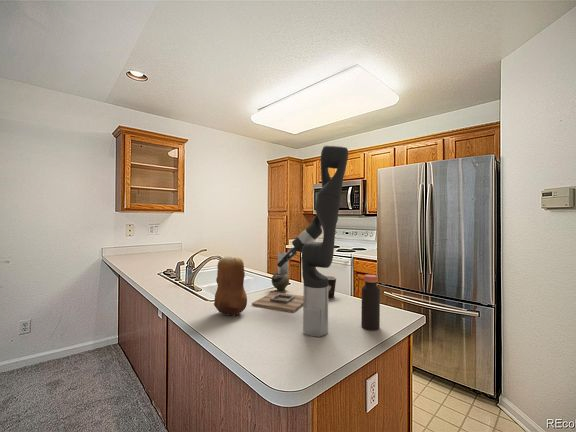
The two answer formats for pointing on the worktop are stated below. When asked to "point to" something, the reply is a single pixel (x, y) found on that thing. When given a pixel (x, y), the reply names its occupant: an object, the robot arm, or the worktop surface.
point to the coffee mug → (331, 286)
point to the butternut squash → (230, 286)
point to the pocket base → (280, 302)
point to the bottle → (370, 303)
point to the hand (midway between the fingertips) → (279, 264)
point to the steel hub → (284, 267)
